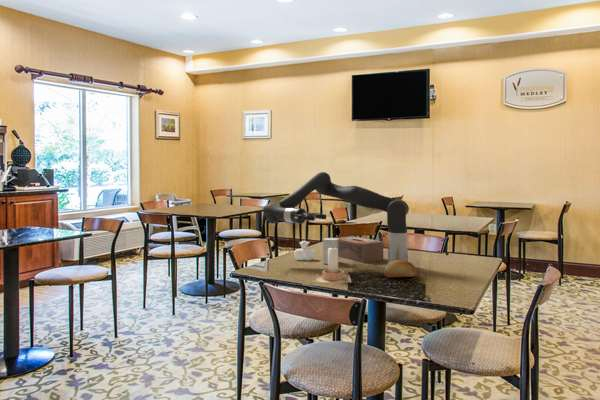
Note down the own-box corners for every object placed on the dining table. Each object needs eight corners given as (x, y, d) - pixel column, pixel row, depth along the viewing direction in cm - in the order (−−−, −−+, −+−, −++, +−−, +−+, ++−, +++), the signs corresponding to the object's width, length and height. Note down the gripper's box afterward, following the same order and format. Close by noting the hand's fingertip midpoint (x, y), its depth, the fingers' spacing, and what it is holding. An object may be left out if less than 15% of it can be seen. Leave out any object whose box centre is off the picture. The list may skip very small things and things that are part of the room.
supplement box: (337, 264, 247) (337, 240, 246) (322, 264, 249) (322, 239, 248) (338, 261, 254) (338, 237, 254) (324, 261, 256) (324, 237, 255)
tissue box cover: (383, 260, 259) (383, 241, 258) (362, 263, 251) (362, 244, 250) (352, 253, 281) (352, 236, 280) (332, 255, 273) (332, 238, 272)
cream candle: (337, 274, 212) (337, 245, 211) (338, 277, 208) (338, 247, 207) (327, 274, 212) (327, 245, 211) (327, 277, 208) (327, 247, 207)
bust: (315, 263, 262) (314, 245, 268) (316, 256, 255) (315, 238, 262) (293, 263, 261) (293, 245, 267) (293, 257, 255) (293, 238, 261)
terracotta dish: (343, 275, 215) (343, 269, 214) (344, 280, 205) (344, 273, 205) (322, 275, 215) (322, 269, 215) (322, 280, 206) (322, 273, 205)
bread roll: (420, 279, 214) (420, 261, 213) (387, 280, 212) (387, 262, 212) (413, 274, 223) (413, 257, 223) (381, 275, 222) (381, 258, 221)
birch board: (349, 277, 217) (349, 274, 217) (351, 286, 202) (351, 282, 202) (316, 277, 218) (316, 274, 218) (315, 285, 203) (315, 282, 203)
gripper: (284, 208, 233) (310, 210, 222) (304, 207, 244) (329, 208, 233) (285, 224, 234) (310, 227, 223) (304, 221, 244) (329, 224, 233)
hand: (320, 217), depth 228 cm, fingers open, 8 cm apart
